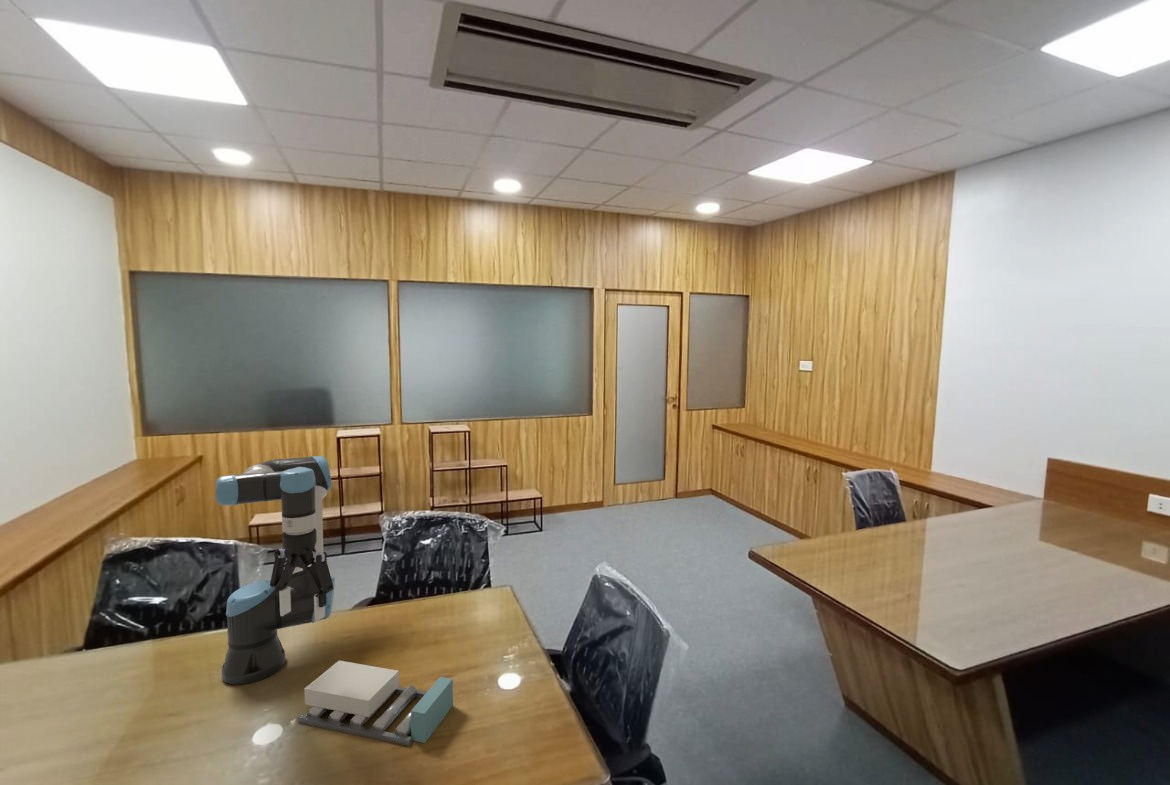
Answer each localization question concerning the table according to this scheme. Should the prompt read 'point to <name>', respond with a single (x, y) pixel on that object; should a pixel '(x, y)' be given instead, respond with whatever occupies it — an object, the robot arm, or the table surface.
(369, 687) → the slab
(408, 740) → the roller bed
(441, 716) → the stop block
